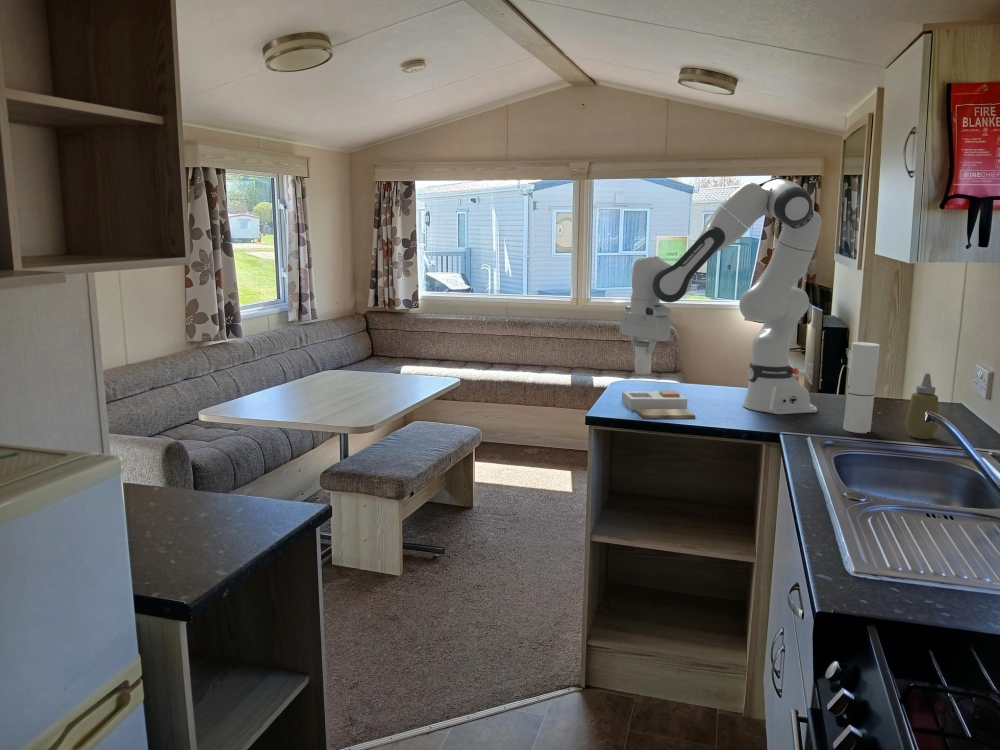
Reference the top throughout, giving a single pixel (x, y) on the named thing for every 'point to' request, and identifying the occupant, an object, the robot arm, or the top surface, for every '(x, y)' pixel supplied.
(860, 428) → the cylindrical container
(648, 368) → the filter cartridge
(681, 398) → the block
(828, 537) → the top surface
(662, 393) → the orange brown block
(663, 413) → the cork pad
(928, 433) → the squeeze bottle
